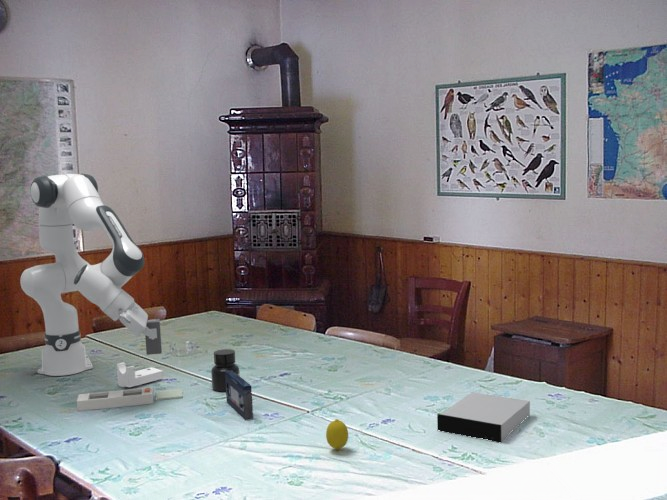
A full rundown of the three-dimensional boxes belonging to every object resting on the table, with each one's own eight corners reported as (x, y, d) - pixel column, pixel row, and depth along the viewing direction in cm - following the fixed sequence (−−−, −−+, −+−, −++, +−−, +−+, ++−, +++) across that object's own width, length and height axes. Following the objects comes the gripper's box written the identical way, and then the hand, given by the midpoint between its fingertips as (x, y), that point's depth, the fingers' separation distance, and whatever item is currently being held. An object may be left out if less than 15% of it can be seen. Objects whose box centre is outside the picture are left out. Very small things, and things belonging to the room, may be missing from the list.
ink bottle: (246, 387, 246) (244, 351, 245) (225, 394, 240) (223, 357, 238) (227, 382, 253) (225, 346, 251) (205, 388, 246) (203, 352, 245)
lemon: (325, 446, 195) (324, 416, 194) (347, 445, 195) (346, 415, 194) (327, 455, 189) (326, 424, 188) (349, 453, 190) (348, 422, 189)
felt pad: (156, 392, 244) (156, 391, 244) (181, 390, 245) (181, 388, 245) (156, 400, 236) (156, 398, 236) (182, 398, 238) (182, 396, 237)
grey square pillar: (147, 351, 239) (145, 319, 237) (161, 350, 239) (159, 318, 238) (146, 354, 234) (144, 322, 233) (161, 353, 235) (159, 321, 234)
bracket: (129, 390, 248) (127, 367, 247) (118, 386, 253) (116, 364, 252) (163, 381, 257) (162, 359, 256) (152, 377, 262) (150, 355, 261)
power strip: (77, 410, 229) (76, 399, 228) (79, 403, 235) (79, 392, 235) (152, 403, 233) (152, 392, 233) (153, 396, 240) (152, 385, 240)
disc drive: (437, 432, 203) (437, 414, 202) (471, 407, 222) (471, 391, 221) (500, 444, 193) (500, 425, 193) (530, 417, 212) (530, 400, 211)
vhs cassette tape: (226, 402, 232) (224, 370, 231) (235, 401, 233) (234, 369, 232) (243, 421, 216) (241, 387, 214) (253, 419, 217) (252, 385, 215)
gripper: (125, 305, 223) (161, 335, 226) (129, 293, 243) (162, 321, 246) (110, 321, 223) (147, 351, 226) (115, 308, 243) (149, 335, 246)
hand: (155, 335), depth 236 cm, fingers closed on grey square pillar, 4 cm apart
